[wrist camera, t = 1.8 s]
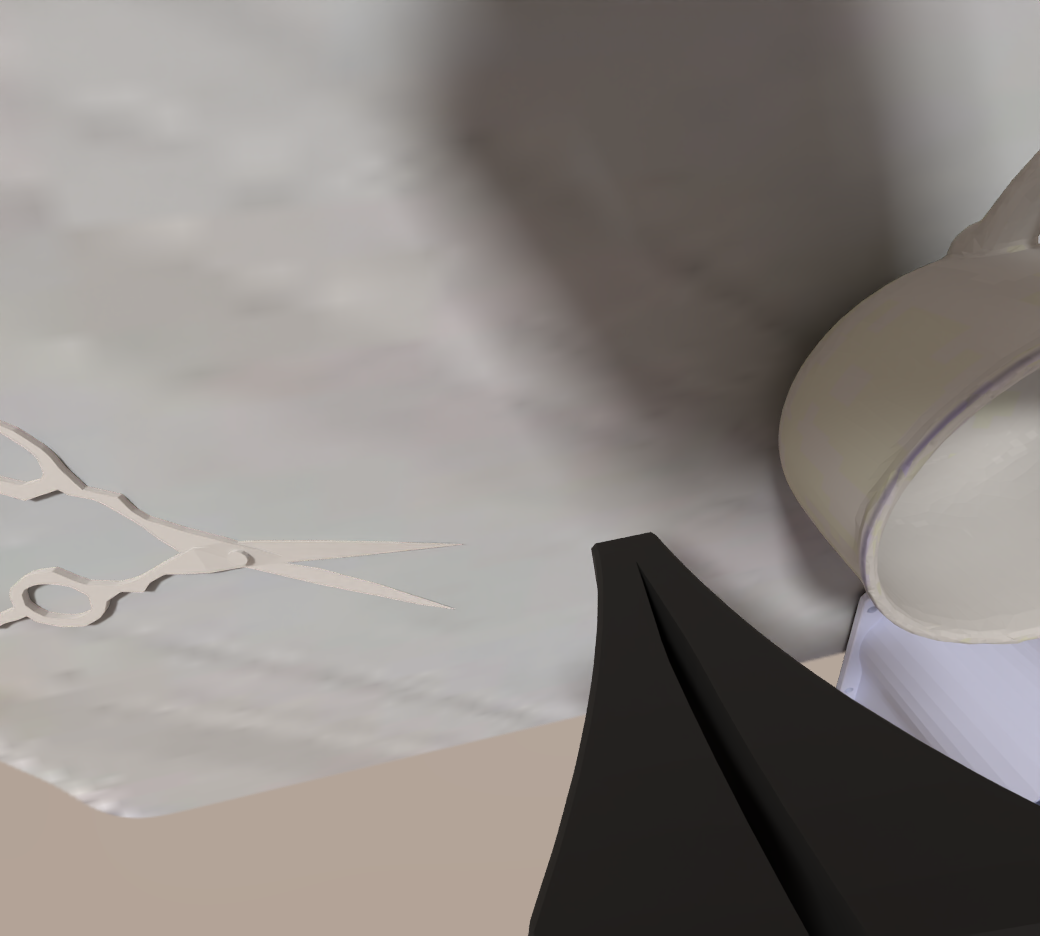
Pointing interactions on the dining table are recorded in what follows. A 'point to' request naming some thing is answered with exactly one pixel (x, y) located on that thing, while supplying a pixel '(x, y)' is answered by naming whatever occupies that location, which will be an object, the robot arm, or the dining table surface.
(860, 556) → the teacup
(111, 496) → the scissors
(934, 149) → the dining table surface
